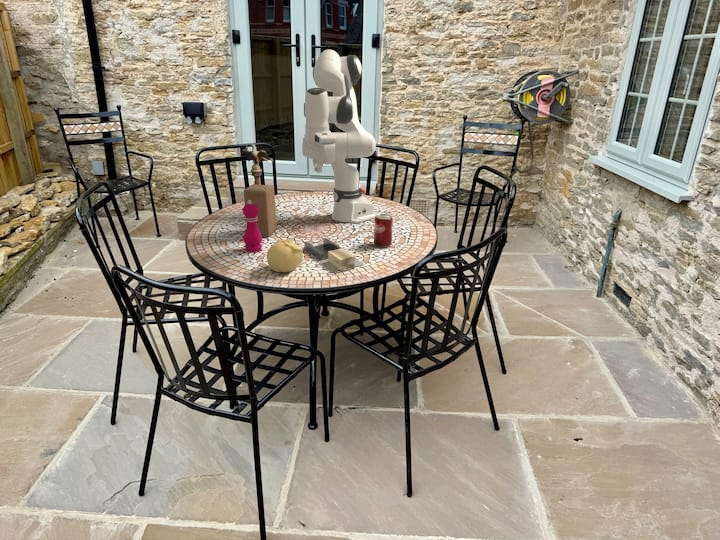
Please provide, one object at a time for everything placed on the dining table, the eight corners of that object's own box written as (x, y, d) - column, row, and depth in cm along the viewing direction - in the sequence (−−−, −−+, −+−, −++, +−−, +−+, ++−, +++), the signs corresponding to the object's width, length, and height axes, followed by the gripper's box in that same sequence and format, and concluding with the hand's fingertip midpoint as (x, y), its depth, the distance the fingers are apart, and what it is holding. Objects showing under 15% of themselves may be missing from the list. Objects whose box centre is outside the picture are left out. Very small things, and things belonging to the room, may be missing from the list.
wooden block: (269, 238, 200) (265, 191, 192) (246, 236, 202) (242, 189, 193) (277, 230, 209) (274, 185, 201) (255, 228, 211) (252, 183, 202)
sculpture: (308, 268, 172) (307, 240, 168) (281, 278, 164) (279, 249, 160) (288, 259, 180) (287, 232, 175) (261, 268, 172) (259, 240, 167)
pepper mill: (242, 247, 190) (238, 198, 182) (260, 245, 192) (257, 196, 184) (246, 254, 184) (241, 203, 176) (264, 251, 186) (261, 201, 178)
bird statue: (253, 209, 235) (247, 136, 221) (278, 211, 233) (274, 137, 219) (239, 220, 220) (232, 142, 206) (266, 222, 218) (261, 143, 204)
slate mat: (349, 256, 184) (349, 254, 183) (363, 265, 176) (363, 263, 176) (316, 263, 177) (316, 261, 176) (329, 273, 169) (329, 271, 169)
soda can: (379, 249, 191) (380, 220, 186) (370, 243, 197) (371, 215, 192) (394, 246, 194) (396, 217, 189) (385, 240, 200) (387, 212, 195)
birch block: (342, 258, 180) (342, 248, 178) (354, 266, 173) (354, 256, 171) (328, 261, 177) (327, 251, 175) (340, 270, 170) (340, 259, 169)
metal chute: (326, 245, 194) (325, 237, 192) (343, 256, 183) (343, 249, 182) (304, 249, 189) (304, 242, 188) (321, 261, 178) (321, 254, 177)
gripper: (297, 131, 185) (298, 167, 191) (322, 139, 169) (323, 178, 175) (312, 130, 188) (313, 165, 194) (338, 138, 172) (338, 176, 178)
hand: (318, 171), depth 184 cm, fingers closed
